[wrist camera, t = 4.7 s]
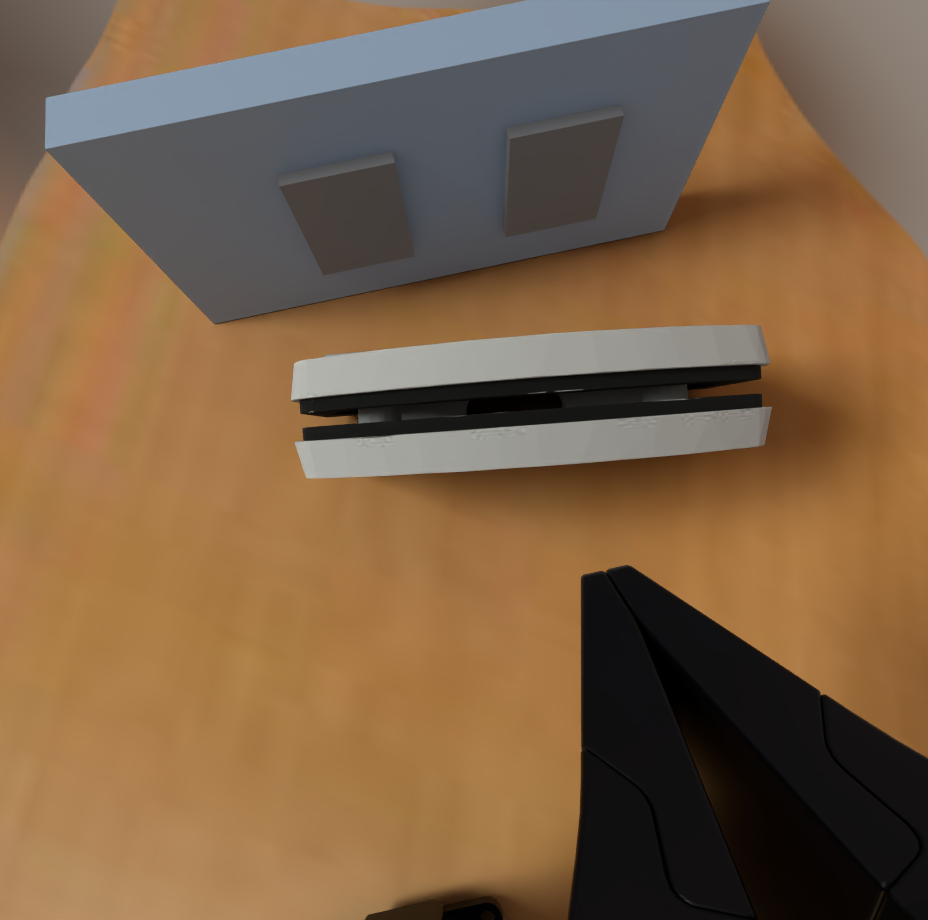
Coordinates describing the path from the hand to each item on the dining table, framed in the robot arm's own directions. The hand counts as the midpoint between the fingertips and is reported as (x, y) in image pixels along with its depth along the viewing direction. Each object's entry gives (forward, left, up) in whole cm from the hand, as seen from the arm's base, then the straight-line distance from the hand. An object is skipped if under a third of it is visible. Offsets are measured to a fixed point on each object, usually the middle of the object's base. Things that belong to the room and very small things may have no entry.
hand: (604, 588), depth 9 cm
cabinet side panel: (+16, +1, -13) cm, 21 cm away
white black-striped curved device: (+7, -1, -13) cm, 15 cm away
